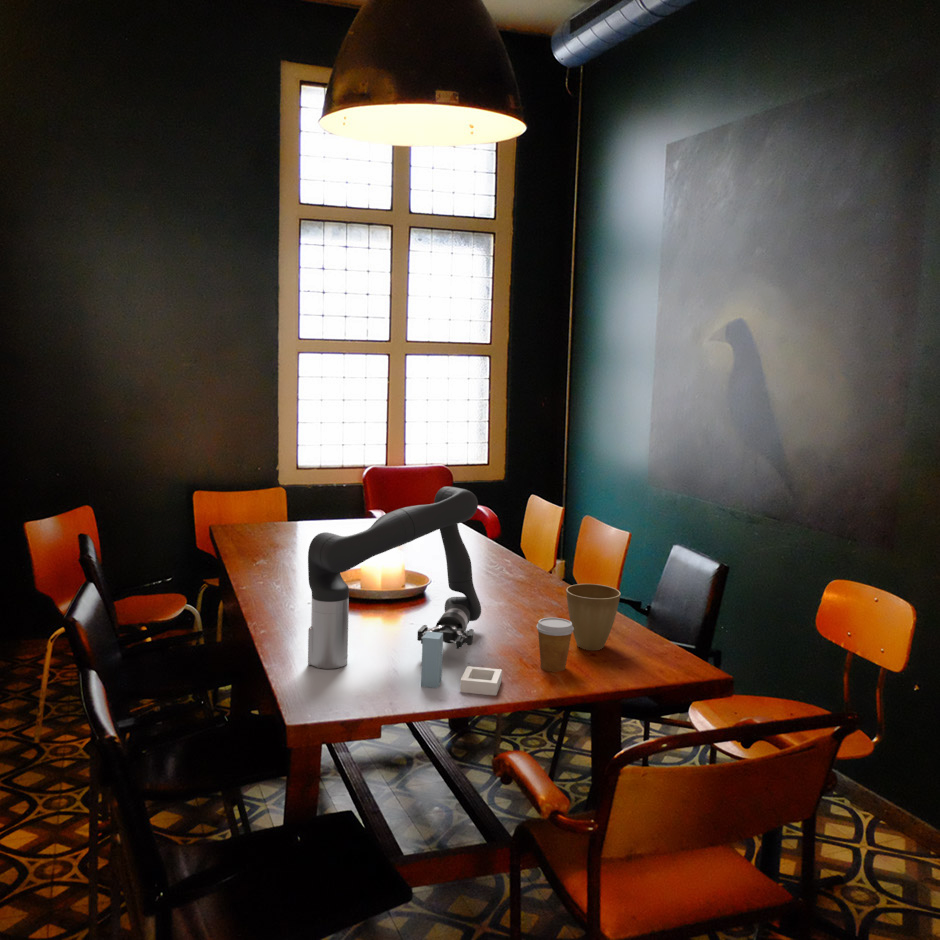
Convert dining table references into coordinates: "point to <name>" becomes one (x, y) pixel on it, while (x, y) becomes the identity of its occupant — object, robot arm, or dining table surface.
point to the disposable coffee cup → (554, 642)
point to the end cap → (481, 680)
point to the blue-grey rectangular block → (432, 659)
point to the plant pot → (592, 613)
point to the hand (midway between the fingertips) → (440, 643)
